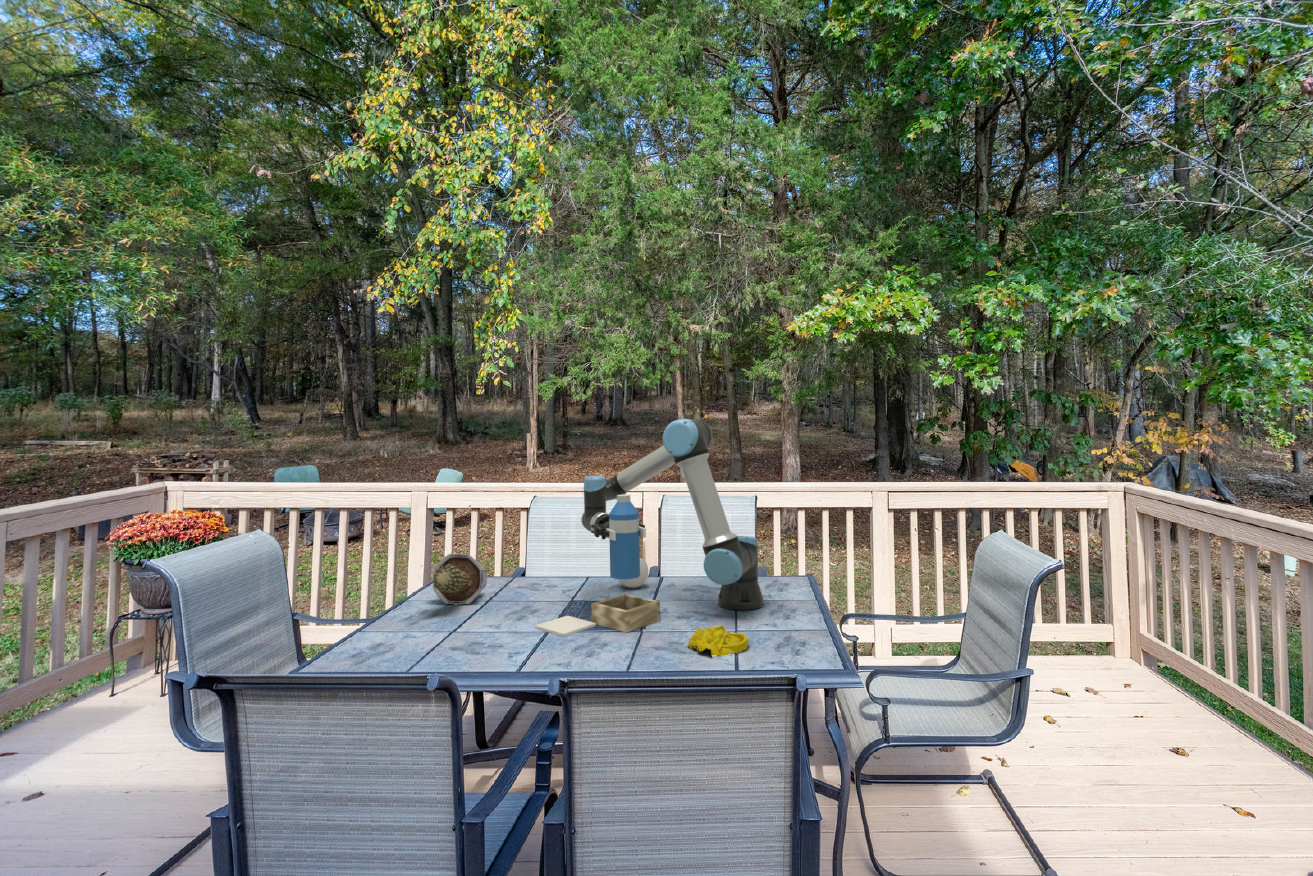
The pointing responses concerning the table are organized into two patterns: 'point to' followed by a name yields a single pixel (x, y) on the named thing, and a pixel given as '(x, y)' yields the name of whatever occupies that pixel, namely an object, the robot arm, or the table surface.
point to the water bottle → (624, 540)
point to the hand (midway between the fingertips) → (629, 534)
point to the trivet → (565, 625)
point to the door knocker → (718, 641)
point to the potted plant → (459, 579)
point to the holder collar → (625, 612)
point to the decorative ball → (641, 579)
